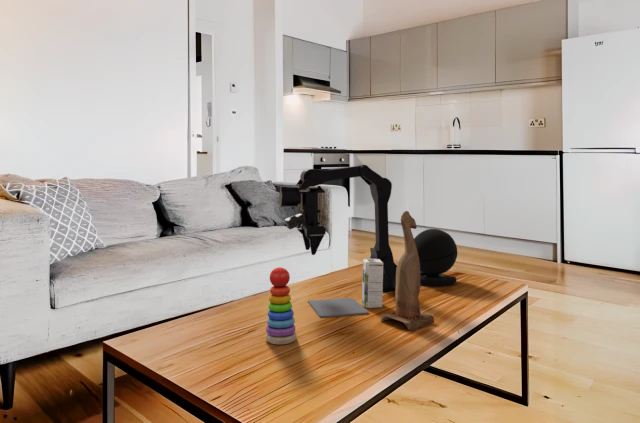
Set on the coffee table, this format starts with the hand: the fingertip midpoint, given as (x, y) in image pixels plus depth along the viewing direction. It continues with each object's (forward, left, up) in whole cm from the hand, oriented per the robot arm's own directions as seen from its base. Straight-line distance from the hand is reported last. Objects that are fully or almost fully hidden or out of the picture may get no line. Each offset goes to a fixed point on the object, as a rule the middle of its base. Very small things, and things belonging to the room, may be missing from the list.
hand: (310, 252), depth 167 cm
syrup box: (-16, +17, -15) cm, 28 cm away
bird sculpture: (-20, +35, -15) cm, 43 cm away
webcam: (-49, -7, -15) cm, 52 cm away
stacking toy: (+17, +40, -15) cm, 46 cm away
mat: (-5, +17, -15) cm, 23 cm away
